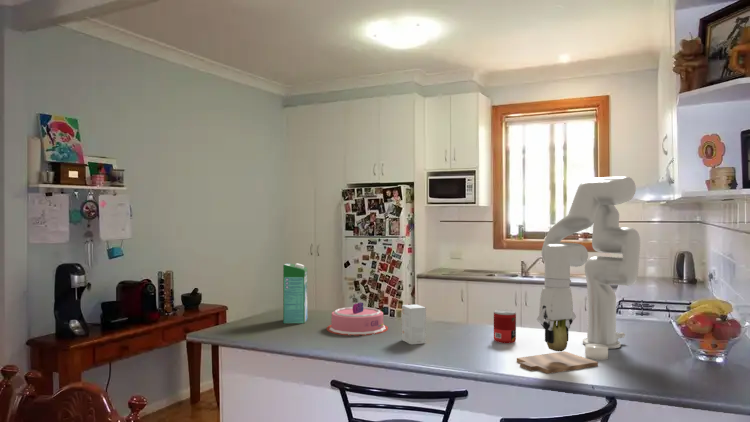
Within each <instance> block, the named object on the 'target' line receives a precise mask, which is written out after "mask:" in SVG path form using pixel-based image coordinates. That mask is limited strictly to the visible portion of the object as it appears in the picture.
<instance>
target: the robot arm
mask: <svg viewBox="0 0 750 422" xmlns="http://www.w3.org/2000/svg"><path fill="white" fill-rule="evenodd" d="M636 186H637V185H636V183H635V180H634V179H633V178H632V177H630V176H604V177H603V176H602V177H599V176H598V177H593V178H590V179H587V180H585V181H584V182H582V183H580V184H579V186H578V187H577V190H576V192H575V195H574V198H573V200H572V203H571V206H570V208H569V212H568V213H567V214H566V216H564V217H563V218H561V219H560V220H558V221H557V222H556V223H555V224H554V225H553V226H551V228H550V229H549V231H548V232H547V234H546V236H545V240H544V241H543V244H542V247H541V258H542V260H543V262H544V287H542V288H541V293H540V299H539V311H538V316H537V318H536V320H537V322H539V324H540V325H541V326H542V328H543V329H544V341H545V342H546V343H547V342H549V343H553V342H554V331H553V330H552V328H553V324H554V321H556V322H557V321H559V320H564V319H566V332H567V342H569V329H571V326H572V324H573V321H574V320H575V319H576V318H577V316H576V315H577V314H575V312H574V304H573V303H574V302H573V301H574V300H573V294H572V293H573V292H572V288H571V287H570V284H572V280H571V268H570V267H575V268H577V267H582V266H584V274H585V279H586V289H587V290H586V291H587V293H586V294H587V303H586V304H587V310H586V311H587V324H586V326H587V329H586V331H587V332H586V334H587V337H585V338H584V339H582V344H583V345H584V346H585V345H586V344H601V345H605V346H608V350H610V349H611V350H612V349H618V348H619V349H620V348H621V346H622V344H621V342H620V341H619V339H624V338H626V334H625V332H618V331H617V296H616V293H615V291H614V289H613V287H612V286H611V285H617V286H633V285H635V283H636V282H637V280H638V275H639V268H640V267H639V263H640V255H641V254H640V251H641V237H640V235H639V232H638V231H637V230H636V228H633V227H627V226H624V227H623V226H619V225H620V213H619V210H618V208H617V207H616V205H617V206H618V205H621V204H624V203H626V202H629V201H630V200H632V199H633V197H634V196H635V195H636V189H637V187H636ZM591 227H592V237H591V247H592V249H593V250H594V251H595V252H597V253H601V254H614V255H615V254H617V255H621V256H622V257H615V256H614V257H612V256H600V255H599V256H598V255H597V256H591V257H590V258H589V251H588V249H587V248H586V246H585V245H583V244H580V243H576V242H562V240H564V239H565V238H567V237H568V236H570V235H573V234H576V233H579V232H582V231H584V230H587V229H589V228H591ZM548 322H549V324H548Z"/></svg>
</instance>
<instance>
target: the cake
mask: <svg viewBox="0 0 750 422" xmlns="http://www.w3.org/2000/svg"><path fill="white" fill-rule="evenodd" d="M330 318H331V324H329V325H327V327H326V331H328V333H331V334H336V335H341V336H351V335H354V336H357V337H358V336H359V335H362V336H373V335H372V334H374V333H375V334H374V335H378V334H383V333H386V332H387V331H388V330H389V327H388V325H385V324H384V313H383V311H382V310H380V309H378V308H375V307H368V306H364V302H362V301H360V302H358V303H354V304H353V305H352V306H349V307H348V306H347V307H341V308H337V309H335V310H334V311H332V312H331V317H330ZM348 334H350V335H348ZM365 334H366V335H365Z"/></svg>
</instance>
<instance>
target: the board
mask: <svg viewBox="0 0 750 422" xmlns="http://www.w3.org/2000/svg"><path fill="white" fill-rule="evenodd" d="M516 363H519V367H521V368H523V369H525V370H528V371H531V372H532V371H540V372H542V373H545V374H549V375H550V374H555V373H562V372H567V371H574V370H579V369H580V370H582V369H586V368H591V367H598V365H599V362H598V361H596V360H594V359H590V358H587V357H585V356H584V357H583V356H580V355H578V354H574V353H570V352H568V351H565V350H563V351H556V352H551V353H550V352H549V353H544V354H536V355H529V356H523V357H517V358H516Z"/></svg>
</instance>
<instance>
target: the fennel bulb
mask: <svg viewBox="0 0 750 422" xmlns="http://www.w3.org/2000/svg"><path fill="white" fill-rule="evenodd" d="M548 324H549V322H548ZM552 330H553V331H554V342H553V343H549V342H546V345H547V347H548V349H549V350H551V351H554V352H564V351H565V350H566V349H567V347H568V341H567V332H566V319H564V320H559V321H554V324H553V328H552Z"/></svg>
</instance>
